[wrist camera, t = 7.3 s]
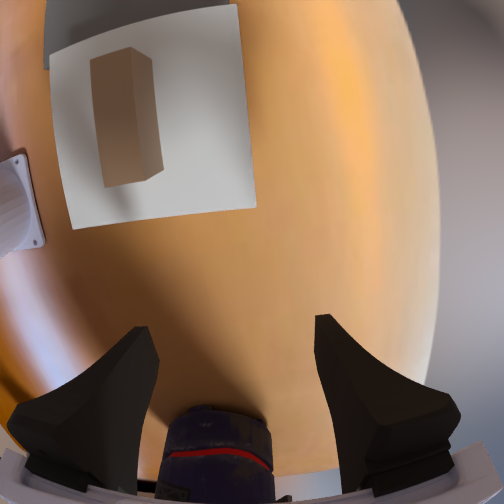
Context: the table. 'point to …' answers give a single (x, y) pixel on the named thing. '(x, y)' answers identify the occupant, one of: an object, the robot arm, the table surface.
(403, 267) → the table surface
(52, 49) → the mat
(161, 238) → the table surface
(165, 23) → the lid
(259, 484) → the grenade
